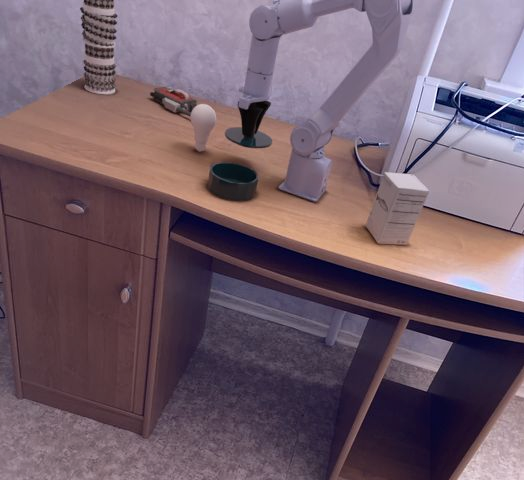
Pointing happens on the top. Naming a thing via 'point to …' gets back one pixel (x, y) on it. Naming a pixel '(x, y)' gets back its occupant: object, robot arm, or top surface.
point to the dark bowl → (232, 181)
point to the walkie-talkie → (174, 99)
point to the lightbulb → (202, 124)
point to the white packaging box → (396, 208)
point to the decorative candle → (99, 45)
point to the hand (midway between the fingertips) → (249, 134)
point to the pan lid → (248, 138)
